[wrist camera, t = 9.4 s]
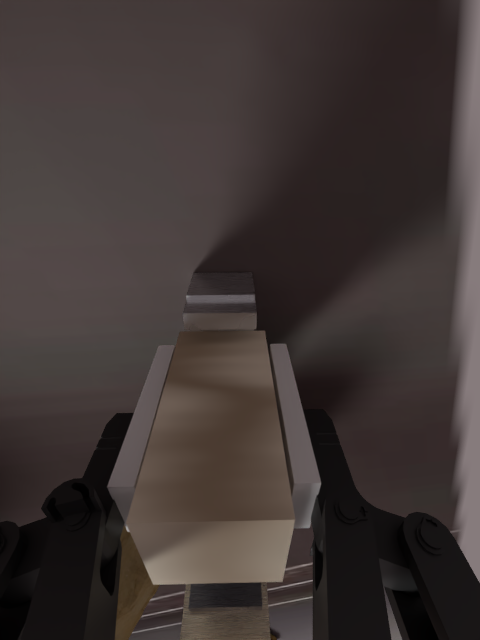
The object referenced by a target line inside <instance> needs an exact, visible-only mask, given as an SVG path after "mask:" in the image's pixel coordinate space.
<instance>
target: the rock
mask: <svg viewBox="0 0 480 640" xmlns="http://www.w3.org/2000/svg"><path fill="white" fill-rule="evenodd" d="M120 540H121V545H122V555H121V568H120V580H119V593H118V605H117V618H116V631H115V640H128V639H129V637H130V635H131V633H132V631H133V629H134V628H135V626H136V624H137V623H138V621H139V619H140V618H141V616H142V614H143V611H144V609H145V607H146V606H147V604H148V603H149V601H150V599H151V598H152V597H153V595H154V594H155V593H156V591H157V589H158V587H159V585H153V583H152V581H151V579H150V576H149V574H148V572H147V570H146V567H145V565H144V563H143V561H142V558H141V556H140V554H139V551H138V549H137V547H136V545H135V542H134V540H133V538H132V536H131V533H130V532H127V530H126V527H125V525H124V527H123V530H122V534H121V537H120Z"/></svg>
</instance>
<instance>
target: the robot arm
mask: <svg viewBox="0 0 480 640" xmlns="http://www.w3.org/2000/svg"><path fill="white" fill-rule="evenodd" d="M174 351H175V345H159V346H158V349H157V352H156V354H155V357H154V360H153V363H152V365H151V368H150V371H149V373H148V376H147V379H146V382H145V384H144V387H143V390H142V393H141V395H140V398H139V401H138V404H137V406H136V409H135V412H134V413H117V414H116V415H115V416H114V417H113V418H112V419H111V420H110V421H109V422H108V423H107V424H106V427H105V429H104V431H103V433H102V436H101V439H100V440H99V442H98V444H97V447H96V450H95V451H94V453H93V456H92V458H91V460H90V462H89V465H88V467H87V469H86V471H85V474H84V476H83V478H79V479H72V480H69V481H67V482H64V483H62V484H61V485H60V486H58V487H57V488H55V489H54V490H53V491H52V492H51V494H50V495H49V496H48V497H47V498H46V500H45V502H44V504H43V506H42V508H41V509H42V511H43V512H44V513H45V515H46V516H47V517H46V518H44V519H41V520H38V521H35V522H32V523H29V524H27V525H24V526H21V527H18V526H17V525H16V524H15V523H13V522H9V521H4V522H0V640H115V631H116V618H117V605H118V593H119V580H120V568H121V555H122V545H121V540H120V537H121V534H122V530H123V527H124V525H125V527H126V530H127V532H130V531H129V529H128V527H127V524H126V521H127V518H128V514H129V511H130V507H131V503H132V500H133V496H134V493H135V489H136V486H137V482H138V479H139V475H140V471H141V468H142V464H143V461H144V457H145V454H146V450H147V447H148V443H149V440H150V436H151V432H152V429H153V425H154V422H155V418H156V415H157V411H158V408H159V404H160V400H161V397H162V393H163V390H164V386H165V383H166V379H167V376H168V372H169V368H170V365H171V361H172V358H173V354H174ZM269 359H270V366H271V372H272V378H273V384H274V391H275V397H276V403H277V409H278V415H279V422H280V428H281V434H282V440H283V447H284V453H285V459H286V465H287V472H288V478H289V484H290V490H291V497H292V503H293V509H294V515H295V523H294V528H310V524H311V522H312V527H313V532H314V540H313V544H312V547H311V552H310V556H313V640H391V634H390V628H389V621H388V615H387V608H386V602H385V595H384V589H383V586H384V587H385V590H386V593H387V596H388V599H389V602H390V605H391V608H392V611H393V614H394V617H395V619H396V622H397V625H398V628H399V631H400V634H401V637H402V640H480V583H479V581H478V579H477V578H476V576H475V574H474V573H473V570H472V569H471V567H470V565H469V563H468V562H467V560H466V558H465V556H464V554H463V553H462V551H461V549H460V547H459V545H458V544H457V542H456V540H455V538H454V537H453V535H452V534H451V533H450V531H449V530H448V529H447V527H446V526H444V525H443V524H442V523H441V522H440V521H439V520H437V519H436V518H434V517H432V516H430V515H428V514H426V513H420V512H415V513H411V514H409V515H408V516H407V517H406V518H404V517H401V516H398V515H395V514H392V513H389V512H386V511H383V510H380V509H378V508H376V507H374V506H373V505H371V504H370V503H368V502H367V501H366V500H365V499H364V498H363V497H362V496H361V495H360V493H359V492H358V491H357V489H356V487H355V485H354V482H353V479H352V476H351V473H350V470H349V468H348V465H347V462H346V459H345V456H344V453H343V450H342V447H341V445H340V442H339V439H338V436H337V435H336V430H335V427H334V424H333V422H332V419H331V418H330V417H329V416H328V415H327V413H326V412H325V411H324V410H323V409H309V410H303V409H302V405H301V401H300V397H299V393H298V389H297V385H296V381H295V377H294V373H293V369H292V365H291V361H290V357H289V353H288V349H287V345H286V344H270V354H269Z"/></svg>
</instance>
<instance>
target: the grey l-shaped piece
mask: <svg viewBox="0 0 480 640" xmlns="http://www.w3.org/2000/svg"><path fill="white" fill-rule="evenodd" d="M186 297H187V300H186V304H185V307H184V311H183V320H184V328H185V330H190V331H254V329H256V324H257V310H256V302H255V290H254V282H253V275H252V272H234V273H193V275H192V278H191V282H190V285H189V288H188V292H187V295H186ZM180 640H271V638H270V625H269V611H268V597H267V583H266V582H249V583H204V584H186V590H185V599H184V609H183V618H182V627H181V636H180Z"/></svg>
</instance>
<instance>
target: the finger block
mask: <svg viewBox="0 0 480 640" xmlns="http://www.w3.org/2000/svg"><path fill="white" fill-rule="evenodd" d="M294 523H295V515H294V509H293V503H292V497H291V490H290V484H289V478H288V472H287V465H286V459H285V453H284V447H283V440H282V434H281V428H280V422H279V415H278V409H277V403H276V397H275V391H274V384H273V378H272V372H271V366H270V359H269V353H268V347H267V341H266V334H265V331H185V332H180V333H179V337H178V340H177V344H176V347H175V351H174V354H173V358H172V361H171V365H170V368H169V372H168V376H167V379H166V383H165V386H164V390H163V393H162V397H161V400H160V404H159V408H158V411H157V415H156V418H155V422H154V425H153V429H152V432H151V436H150V440H149V443H148V447H147V450H146V454H145V457H144V461H143V464H142V468H141V471H140V475H139V479H138V482H137V486H136V489H135V493H134V496H133V500H132V503H131V507H130V511H129V514H128V518H127V521H126V524H127V527H128V529H129V531H130V533H131V536H132V538H133V540H134V542H135V545H136V547H137V549H138V551H139V554H140V556H141V558H142V561H143V563H144V565H145V567H146V570H147V572H148V574H149V576H150V579H151V581H152V583H153V585H160V584H204V583H249V582H282V581H283V576H284V571H285V567H286V562H287V557H288V552H289V547H290V542H291V538H292V533H293V528H294Z"/></svg>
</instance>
